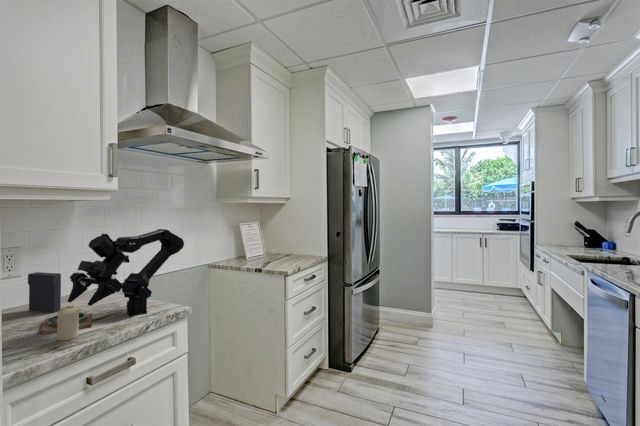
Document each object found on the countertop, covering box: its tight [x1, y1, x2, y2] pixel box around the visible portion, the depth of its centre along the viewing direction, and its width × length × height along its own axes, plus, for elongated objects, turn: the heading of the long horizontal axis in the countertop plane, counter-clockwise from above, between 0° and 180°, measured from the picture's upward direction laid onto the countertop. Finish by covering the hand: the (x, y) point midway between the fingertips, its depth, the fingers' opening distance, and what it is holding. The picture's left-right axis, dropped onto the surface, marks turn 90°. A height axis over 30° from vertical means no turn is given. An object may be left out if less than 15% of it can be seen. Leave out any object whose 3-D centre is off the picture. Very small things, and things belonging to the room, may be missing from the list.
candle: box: [56, 305, 80, 341], centre depth 106 cm, size 6×6×10 cm
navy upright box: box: [27, 271, 62, 314], centre depth 131 cm, size 11×4×15 cm, turn 84°
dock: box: [38, 311, 94, 335], centre depth 117 cm, size 14×14×2 cm
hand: (78, 303), depth 109 cm, fingers open, 9 cm apart
